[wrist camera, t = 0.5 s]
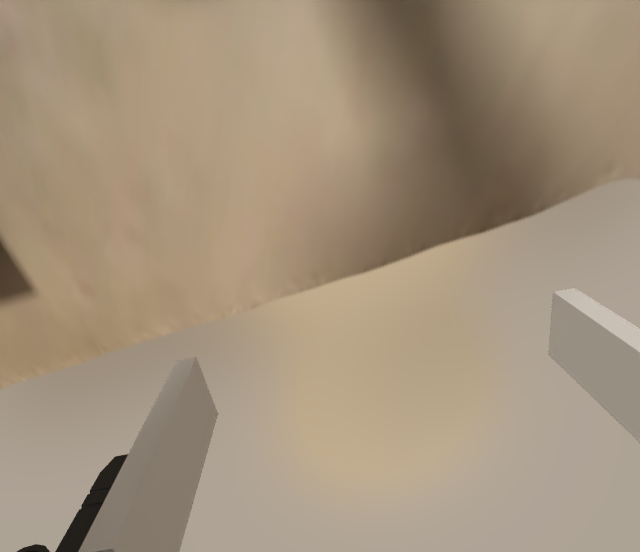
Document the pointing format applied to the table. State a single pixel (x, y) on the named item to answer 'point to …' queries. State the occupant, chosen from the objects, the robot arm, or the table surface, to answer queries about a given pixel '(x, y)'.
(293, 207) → the table surface
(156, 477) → the robot arm
